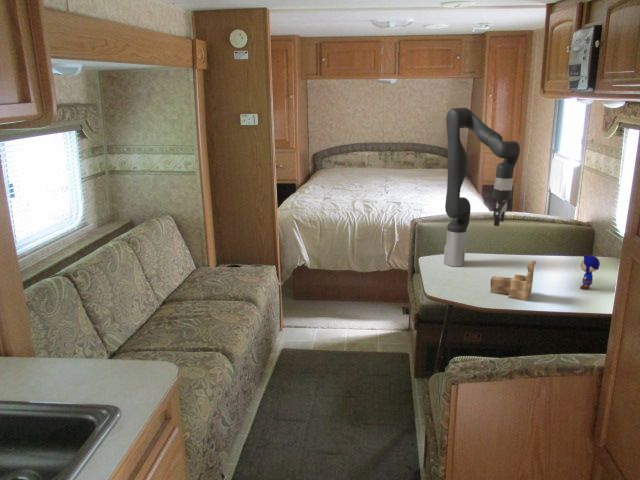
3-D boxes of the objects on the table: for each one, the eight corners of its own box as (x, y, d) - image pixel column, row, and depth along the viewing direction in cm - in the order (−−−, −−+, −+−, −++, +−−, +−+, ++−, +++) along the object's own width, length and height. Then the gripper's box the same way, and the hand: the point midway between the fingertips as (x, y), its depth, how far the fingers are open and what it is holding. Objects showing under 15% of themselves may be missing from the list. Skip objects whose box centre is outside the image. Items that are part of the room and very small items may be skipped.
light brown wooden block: (490, 292, 235) (490, 277, 233) (492, 289, 238) (492, 274, 236) (521, 295, 228) (521, 280, 227) (523, 292, 232) (523, 277, 230)
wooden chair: (507, 297, 229) (511, 264, 224) (512, 290, 236) (515, 257, 232) (527, 301, 225) (531, 267, 221) (532, 294, 232) (535, 260, 228)
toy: (580, 282, 246) (585, 250, 241) (599, 286, 241) (603, 253, 237) (573, 290, 236) (578, 258, 232) (592, 294, 231) (597, 261, 227)
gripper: (498, 183, 244) (494, 218, 249) (489, 189, 232) (485, 226, 237) (515, 185, 240) (511, 221, 245) (508, 191, 229) (503, 228, 233)
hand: (498, 223), depth 241 cm, fingers open, 8 cm apart
